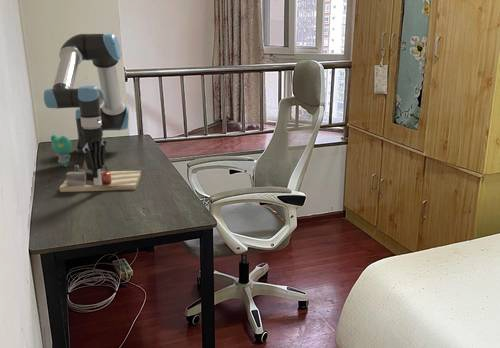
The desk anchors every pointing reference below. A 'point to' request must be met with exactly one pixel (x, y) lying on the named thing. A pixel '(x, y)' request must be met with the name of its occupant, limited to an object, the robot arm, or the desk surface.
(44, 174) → the desk surface
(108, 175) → the lever
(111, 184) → the board
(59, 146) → the toy
